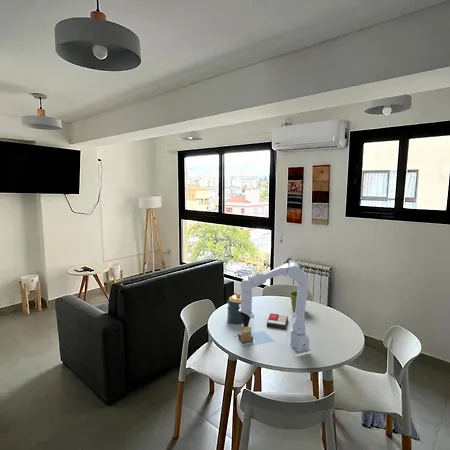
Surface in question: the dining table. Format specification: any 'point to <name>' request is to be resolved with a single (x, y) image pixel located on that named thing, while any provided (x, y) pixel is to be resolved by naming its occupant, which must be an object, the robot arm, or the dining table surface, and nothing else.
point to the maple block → (246, 330)
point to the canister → (234, 309)
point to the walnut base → (245, 338)
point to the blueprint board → (257, 339)
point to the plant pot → (294, 299)
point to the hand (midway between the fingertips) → (245, 325)
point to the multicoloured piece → (277, 321)
